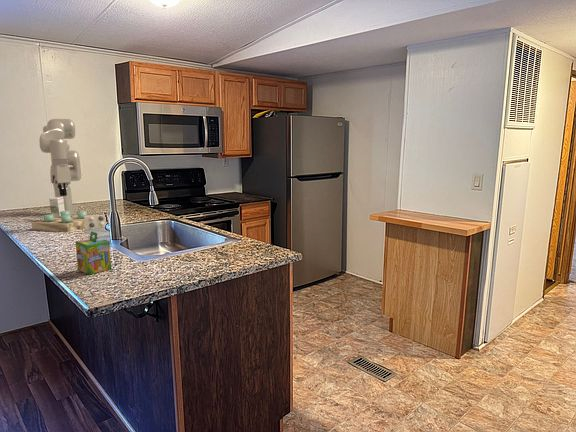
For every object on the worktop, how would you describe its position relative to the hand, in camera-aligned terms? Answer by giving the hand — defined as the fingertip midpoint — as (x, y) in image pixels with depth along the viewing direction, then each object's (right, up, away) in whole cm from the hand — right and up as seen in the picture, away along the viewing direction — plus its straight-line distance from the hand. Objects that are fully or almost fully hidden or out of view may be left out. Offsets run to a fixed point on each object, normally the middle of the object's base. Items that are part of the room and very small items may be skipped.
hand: (63, 195), depth 224 cm
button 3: (0, -15, +3) cm, 15 cm away
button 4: (+3, -13, +14) cm, 20 cm away
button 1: (-11, -15, +6) cm, 20 cm away
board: (-4, -17, +11) cm, 21 cm away
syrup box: (-19, -14, +29) cm, 37 cm away
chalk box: (+50, -32, -68) cm, 91 cm away
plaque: (+15, -18, +7) cm, 25 cm away
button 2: (-8, -13, +17) cm, 23 cm away
